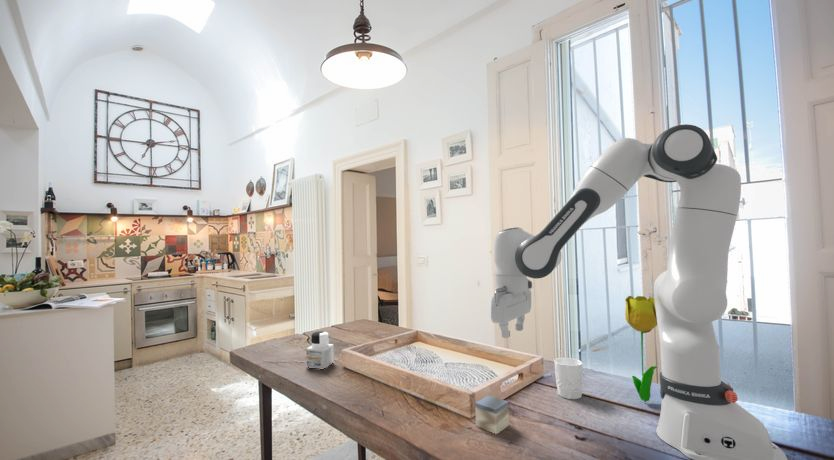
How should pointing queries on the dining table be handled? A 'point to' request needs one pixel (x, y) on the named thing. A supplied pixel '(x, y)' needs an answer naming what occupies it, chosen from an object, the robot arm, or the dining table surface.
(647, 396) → the flower
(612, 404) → the dining table surface
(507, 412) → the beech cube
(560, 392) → the white cup
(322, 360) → the container
